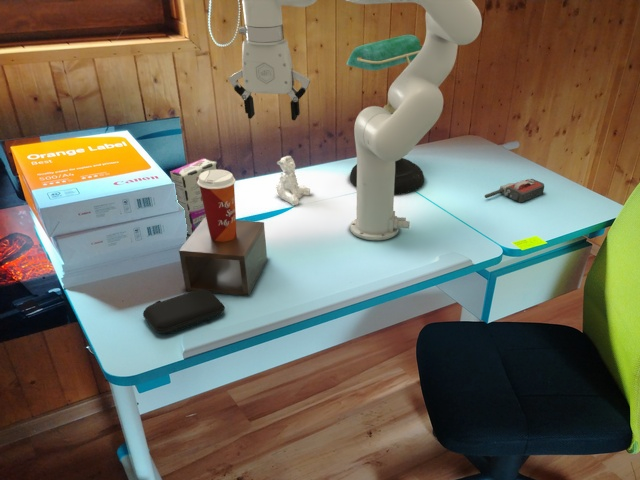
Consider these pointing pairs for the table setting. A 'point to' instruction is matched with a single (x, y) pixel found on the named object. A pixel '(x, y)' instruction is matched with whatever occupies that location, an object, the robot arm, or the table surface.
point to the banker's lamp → (376, 59)
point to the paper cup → (219, 203)
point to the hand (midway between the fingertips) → (273, 117)
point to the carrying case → (183, 311)
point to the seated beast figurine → (290, 182)
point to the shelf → (224, 259)
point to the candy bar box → (191, 191)
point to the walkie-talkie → (520, 190)
